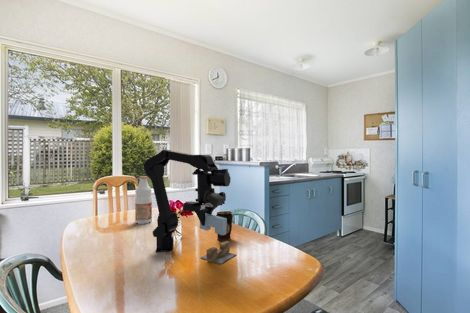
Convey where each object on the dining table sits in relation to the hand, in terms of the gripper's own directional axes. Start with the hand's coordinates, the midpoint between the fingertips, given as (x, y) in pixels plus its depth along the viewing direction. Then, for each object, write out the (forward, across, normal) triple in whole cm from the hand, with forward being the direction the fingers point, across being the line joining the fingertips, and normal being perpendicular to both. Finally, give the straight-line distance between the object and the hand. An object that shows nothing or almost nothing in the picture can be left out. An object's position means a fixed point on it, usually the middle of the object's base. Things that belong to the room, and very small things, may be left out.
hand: (205, 224), depth 98 cm
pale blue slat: (+2, 0, -4) cm, 4 cm away
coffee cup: (+12, +20, +6) cm, 24 cm away
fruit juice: (+12, +15, +66) cm, 68 cm away
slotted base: (+12, +2, -5) cm, 13 cm away
